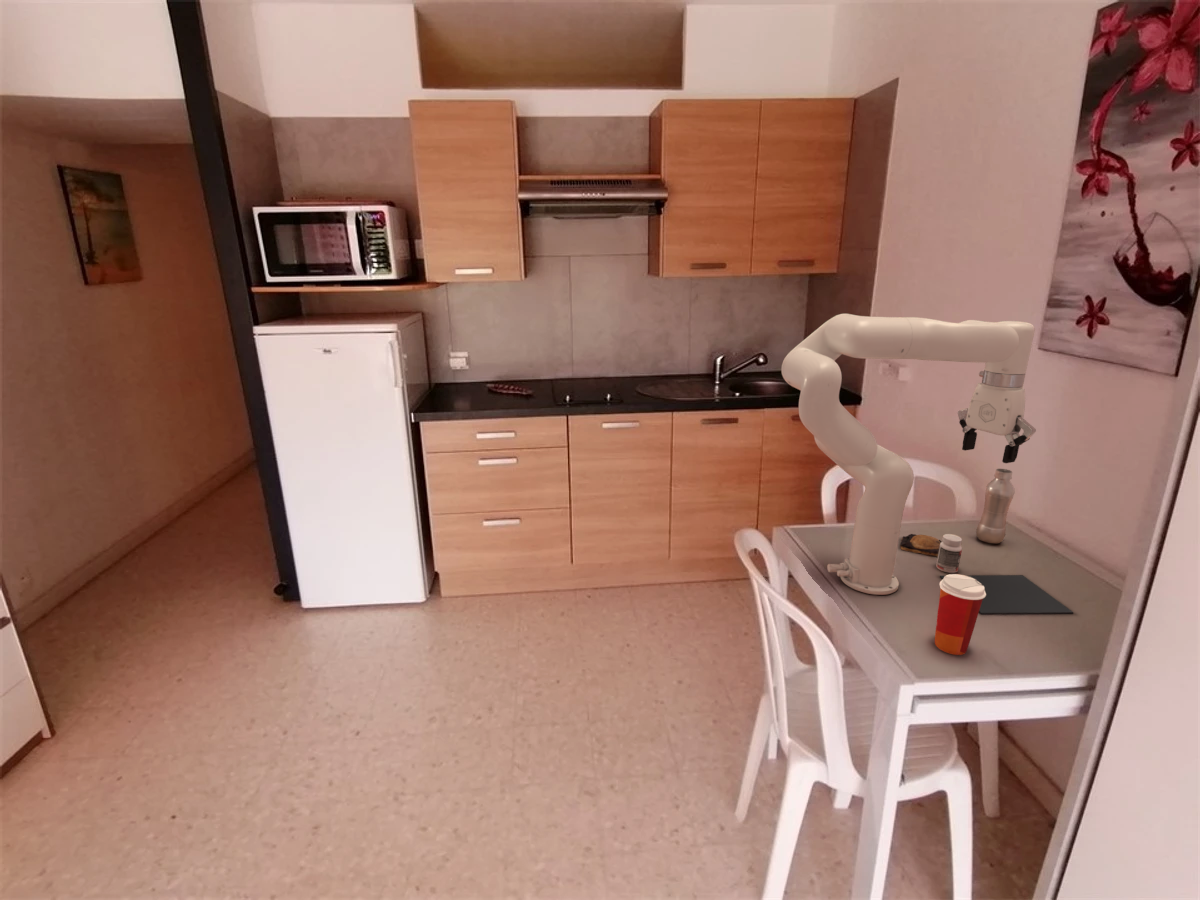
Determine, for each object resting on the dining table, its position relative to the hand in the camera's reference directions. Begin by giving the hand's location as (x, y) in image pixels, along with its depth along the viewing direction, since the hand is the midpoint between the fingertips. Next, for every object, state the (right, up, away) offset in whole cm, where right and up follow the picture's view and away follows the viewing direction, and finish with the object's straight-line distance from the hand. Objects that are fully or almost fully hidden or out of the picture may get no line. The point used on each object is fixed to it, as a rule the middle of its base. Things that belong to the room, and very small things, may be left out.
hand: (987, 455), depth 137 cm
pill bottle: (-2, -28, +13) cm, 31 cm away
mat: (+4, -31, +2) cm, 32 cm away
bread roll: (-2, -25, +23) cm, 34 cm away
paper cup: (-18, -37, -17) cm, 45 cm away
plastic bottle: (+18, -23, +28) cm, 40 cm away
